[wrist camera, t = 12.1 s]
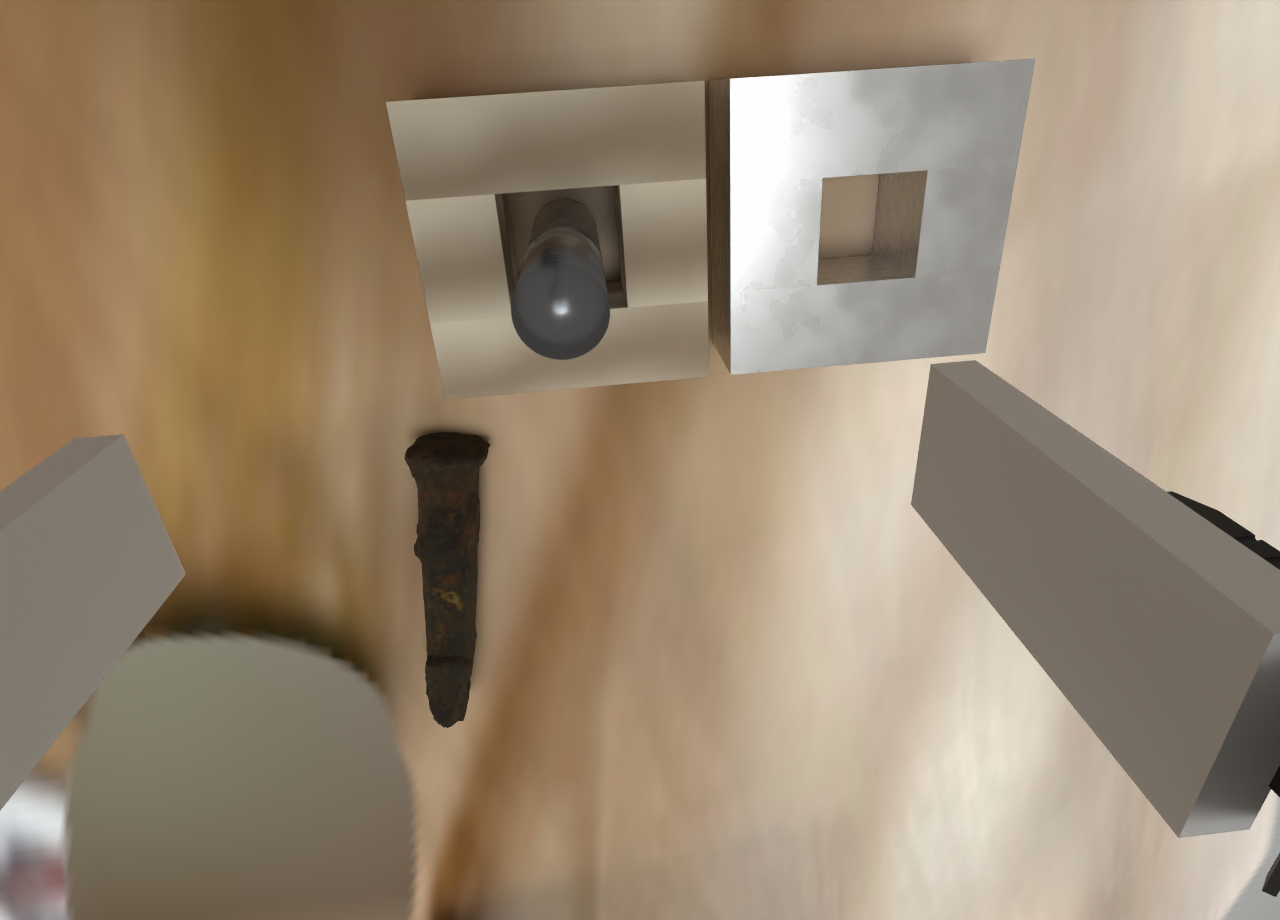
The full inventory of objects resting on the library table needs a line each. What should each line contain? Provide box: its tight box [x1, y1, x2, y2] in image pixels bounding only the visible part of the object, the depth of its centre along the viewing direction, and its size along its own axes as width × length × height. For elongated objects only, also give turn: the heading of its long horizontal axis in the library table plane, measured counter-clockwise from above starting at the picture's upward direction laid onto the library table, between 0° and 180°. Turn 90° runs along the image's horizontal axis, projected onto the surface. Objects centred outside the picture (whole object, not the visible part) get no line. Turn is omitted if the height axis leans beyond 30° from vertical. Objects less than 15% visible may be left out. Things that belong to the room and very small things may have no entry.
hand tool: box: [405, 433, 490, 728], centre depth 41 cm, size 19×4×5 cm, turn 172°
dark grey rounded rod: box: [511, 200, 610, 360], centre depth 28 cm, size 3×3×14 cm
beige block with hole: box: [386, 81, 709, 399], centre depth 32 cm, size 12×12×5 cm
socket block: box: [708, 59, 1035, 375], centre depth 33 cm, size 12×12×5 cm
